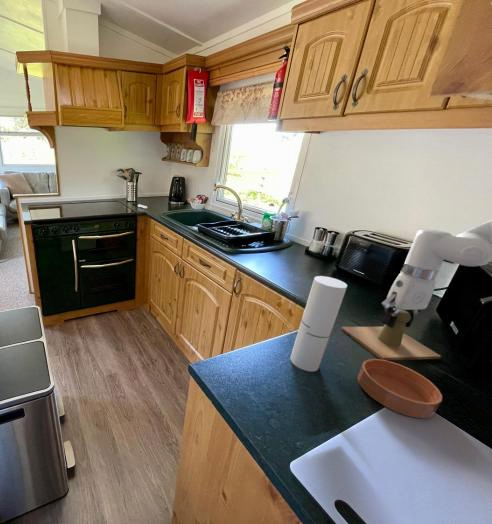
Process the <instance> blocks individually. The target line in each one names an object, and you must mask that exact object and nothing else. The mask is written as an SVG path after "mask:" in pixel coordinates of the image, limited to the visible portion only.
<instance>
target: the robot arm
mask: <svg viewBox="0 0 492 524" xmlns="http://www.w3.org/2000/svg"><path fill="white" fill-rule="evenodd" d="M444 261H448V262H450V263H454V264H457V265H461V266H465V267H480V266H483V265H485V264H487V263H489V262H490V261H492V219H490V220H488V221H486V222H484V223H482V224H478V225H476V226H475V227H472V228H470V229H468V230H465V231H463V232H461V233H459V234H457V235H453V234H451V233H449V232H446V231H443V230H438V229H430V228H424V229H419V230H418V231H417V232H416V234H415V237H414V238H413V241H412V243H411V246H410V249H409V251H408V253H407V255H406V258H405V261H404V263H403V265H402V268H401V270H400V273H399V274H398V275H397V277H396V278H395V280H394V281H393V283H392V285H391V287H390V289H389V291H388V294H387V296H386V299H384V300H383V301H382V302H381V306H382V307H383V309H384V312H385V313H384V316H383V319H382V321H381V323H382V324H384V325H387V326H389V327H391V328H392V327H393V326H394V324H395V321H396V319H397V316H396V315H397V313H398V312H399V311H400V309H402V310H405V311H407V312H408V313H409V314H410V315H411V319H410V321H409V322H407V323H406V324H405V328H410V327H411V325H412V323H413V321H414V319H415V317H416V316H418V314H419V312H421V311H423V310H425V309H427V308H428V306H429V304H430V302H431V299H432V297H433V294H434V290H435V287H436V282H437V279H436V277H437V275H438V273H439V271H440V269H441V266H442V265H443V263H444ZM394 308H395V310H393V309H394Z"/></svg>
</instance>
